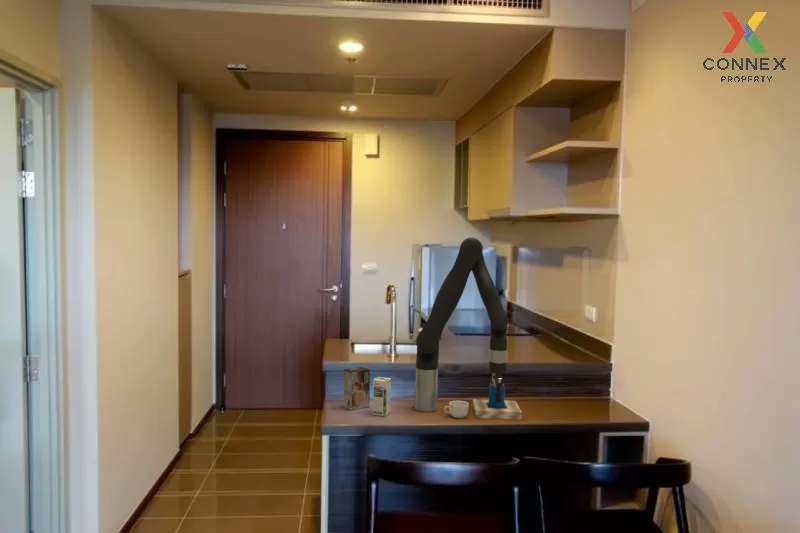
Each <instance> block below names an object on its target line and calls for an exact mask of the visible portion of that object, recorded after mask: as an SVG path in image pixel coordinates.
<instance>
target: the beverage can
mask: <svg viewBox="0 0 800 533" xmlns="http://www.w3.org/2000/svg"><path fill="white" fill-rule="evenodd" d="M498 390H500V388H498ZM502 391H503V392H502V393H501V402H500V403H498V402H496V401H495V395H496V393H495V388H494V382H492V381H491V382H490V383H489V386H488V400H489V406H488V408H504V404H505V400H506V397H505V396H506V386H505V383H503V390H502Z"/></svg>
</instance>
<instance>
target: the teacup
mask: <svg viewBox="0 0 800 533" xmlns="http://www.w3.org/2000/svg"><path fill="white" fill-rule="evenodd" d="M469 404H470V403H469V402H468V401H463V400H452V401H451V400H450V401H449V402H448V405H446V406H444V407H443V411H444V412H445V413H446V414H450V416H452V417H453V418H456V419H463V418H465V417H466V416H467V414H468V413H469ZM446 408H447V409H448V410H449V411H446Z"/></svg>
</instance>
